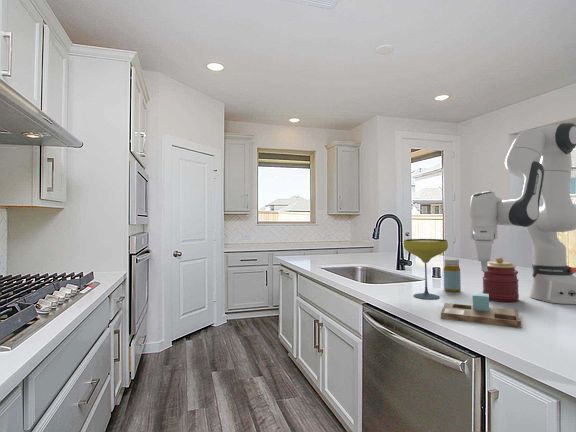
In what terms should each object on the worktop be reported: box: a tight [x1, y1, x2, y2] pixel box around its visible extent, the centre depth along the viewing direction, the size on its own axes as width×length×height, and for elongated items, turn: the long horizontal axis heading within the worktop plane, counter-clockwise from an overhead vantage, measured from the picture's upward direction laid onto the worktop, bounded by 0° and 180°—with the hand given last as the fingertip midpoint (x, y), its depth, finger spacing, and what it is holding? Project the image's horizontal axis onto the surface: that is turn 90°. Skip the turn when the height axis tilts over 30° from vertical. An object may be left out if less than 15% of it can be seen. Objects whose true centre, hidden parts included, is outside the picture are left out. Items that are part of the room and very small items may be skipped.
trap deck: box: [440, 302, 522, 329], centre depth 117 cm, size 23×15×2 cm, turn 60°
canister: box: [482, 256, 520, 303], centre depth 142 cm, size 13×13×18 cm
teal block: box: [472, 292, 490, 311], centre depth 120 cm, size 5×5×5 cm
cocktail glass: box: [403, 238, 449, 301], centre depth 148 cm, size 18×18×25 cm
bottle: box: [443, 257, 462, 293], centre depth 159 cm, size 7×7×15 cm
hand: (484, 270), depth 126 cm, fingers closed
